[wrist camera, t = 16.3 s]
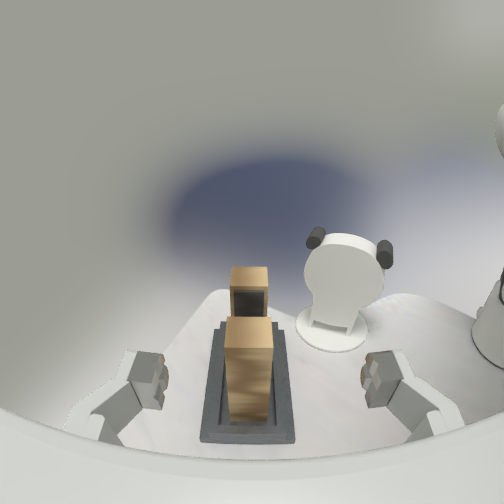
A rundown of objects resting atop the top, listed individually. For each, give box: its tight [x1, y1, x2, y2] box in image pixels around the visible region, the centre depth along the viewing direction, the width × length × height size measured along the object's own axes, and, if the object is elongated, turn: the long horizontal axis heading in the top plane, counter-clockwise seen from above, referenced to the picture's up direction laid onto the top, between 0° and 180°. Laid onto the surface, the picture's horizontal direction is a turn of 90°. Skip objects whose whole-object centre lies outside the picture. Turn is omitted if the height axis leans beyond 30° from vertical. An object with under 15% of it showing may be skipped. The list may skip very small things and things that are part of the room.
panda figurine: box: [296, 227, 393, 353], centre depth 42 cm, size 12×11×15 cm
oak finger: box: [224, 317, 273, 422], centre depth 29 cm, size 4×4×12 cm
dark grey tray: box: [200, 321, 295, 444], centre depth 36 cm, size 10×18×2 cm, turn 0°
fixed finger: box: [230, 267, 268, 317], centre depth 37 cm, size 4×4×12 cm
